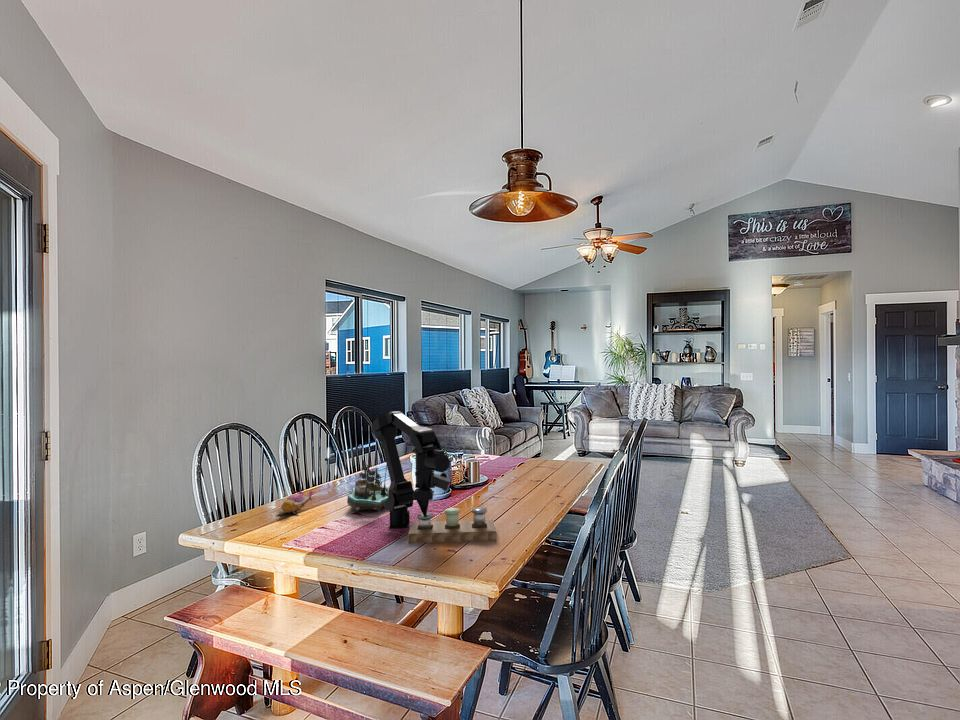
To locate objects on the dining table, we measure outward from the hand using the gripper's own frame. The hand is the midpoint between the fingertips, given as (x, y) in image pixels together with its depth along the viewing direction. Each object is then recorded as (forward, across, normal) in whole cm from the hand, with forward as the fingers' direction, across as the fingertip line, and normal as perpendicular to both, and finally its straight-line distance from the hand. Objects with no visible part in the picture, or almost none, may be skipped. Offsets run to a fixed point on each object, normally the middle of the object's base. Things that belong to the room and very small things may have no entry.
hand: (424, 514), depth 175 cm
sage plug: (+3, 0, -9) cm, 10 cm away
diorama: (+8, +38, +23) cm, 45 cm away
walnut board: (+7, 0, -9) cm, 12 cm away
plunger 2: (+3, 0, -18) cm, 18 cm away
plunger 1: (+5, 0, 0) cm, 5 cm away
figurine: (+8, +39, +54) cm, 67 cm away
